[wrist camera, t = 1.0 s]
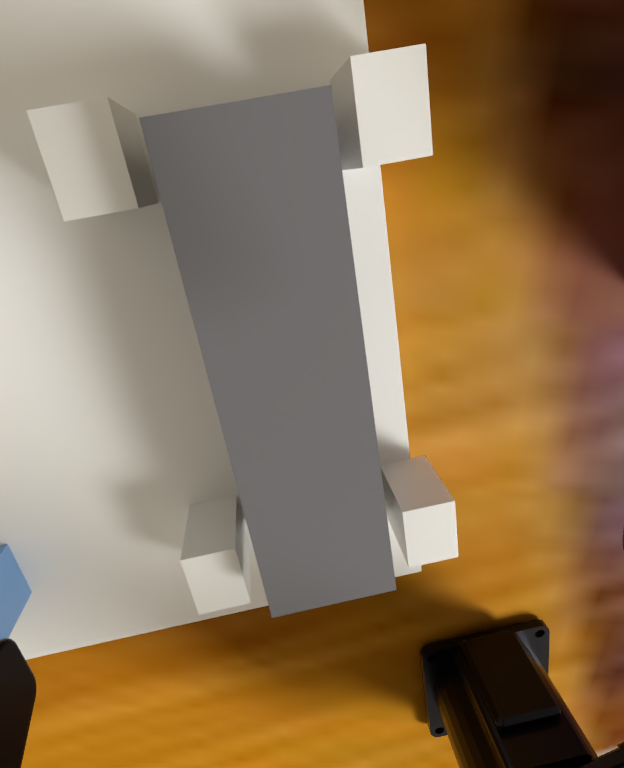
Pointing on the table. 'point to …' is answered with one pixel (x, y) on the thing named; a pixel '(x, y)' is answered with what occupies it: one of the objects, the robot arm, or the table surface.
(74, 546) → the board
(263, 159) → the long grey block
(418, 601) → the table surface
